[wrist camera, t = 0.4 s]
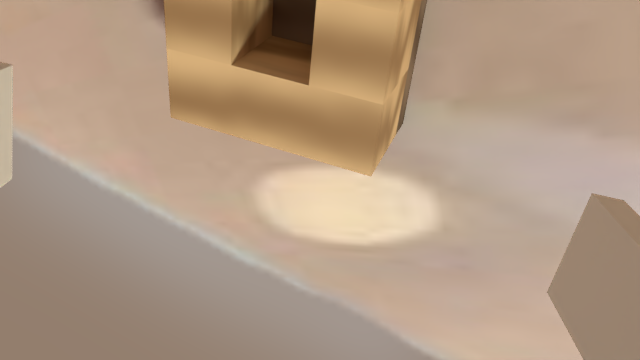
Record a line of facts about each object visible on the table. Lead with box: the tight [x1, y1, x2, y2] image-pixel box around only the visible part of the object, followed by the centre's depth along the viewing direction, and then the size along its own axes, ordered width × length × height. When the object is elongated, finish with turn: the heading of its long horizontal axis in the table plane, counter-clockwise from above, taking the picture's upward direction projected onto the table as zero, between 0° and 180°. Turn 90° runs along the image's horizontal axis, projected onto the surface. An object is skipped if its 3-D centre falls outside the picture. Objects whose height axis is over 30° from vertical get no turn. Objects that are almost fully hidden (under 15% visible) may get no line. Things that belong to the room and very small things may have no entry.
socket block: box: [164, 0, 427, 176], centre depth 39 cm, size 16×15×8 cm
